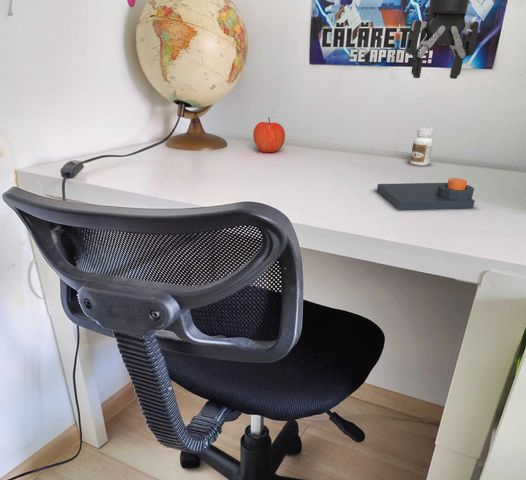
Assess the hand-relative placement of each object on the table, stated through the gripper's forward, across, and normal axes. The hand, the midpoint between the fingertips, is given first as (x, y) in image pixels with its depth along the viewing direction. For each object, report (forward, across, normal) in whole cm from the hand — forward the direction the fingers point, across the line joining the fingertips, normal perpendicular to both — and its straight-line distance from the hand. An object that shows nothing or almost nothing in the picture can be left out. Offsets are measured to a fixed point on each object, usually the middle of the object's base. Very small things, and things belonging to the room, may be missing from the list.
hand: (434, 78), depth 108 cm
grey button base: (+18, -11, -28) cm, 35 cm away
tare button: (+15, -7, -31) cm, 35 cm away
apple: (+18, -34, +15) cm, 41 cm away
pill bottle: (+18, 0, 0) cm, 18 cm away
